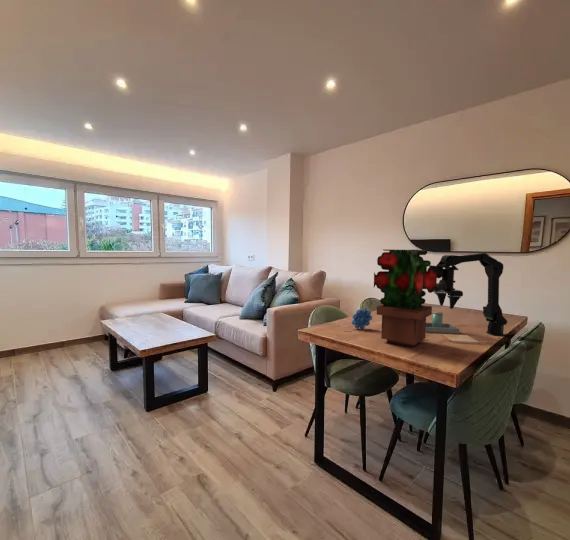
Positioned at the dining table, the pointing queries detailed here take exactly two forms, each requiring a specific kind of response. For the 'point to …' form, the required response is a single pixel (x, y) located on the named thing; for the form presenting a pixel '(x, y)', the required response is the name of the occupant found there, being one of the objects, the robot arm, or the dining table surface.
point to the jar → (437, 319)
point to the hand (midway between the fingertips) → (446, 307)
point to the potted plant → (404, 295)
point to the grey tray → (445, 328)
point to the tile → (461, 339)
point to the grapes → (361, 318)
